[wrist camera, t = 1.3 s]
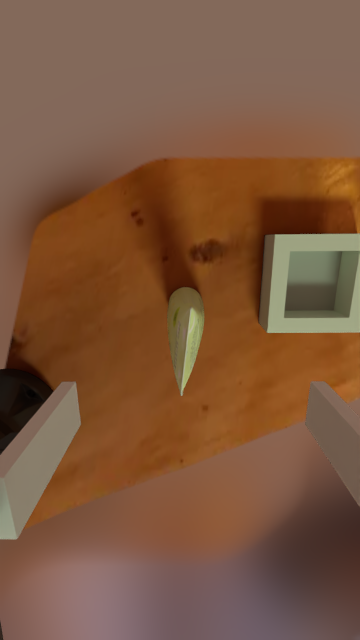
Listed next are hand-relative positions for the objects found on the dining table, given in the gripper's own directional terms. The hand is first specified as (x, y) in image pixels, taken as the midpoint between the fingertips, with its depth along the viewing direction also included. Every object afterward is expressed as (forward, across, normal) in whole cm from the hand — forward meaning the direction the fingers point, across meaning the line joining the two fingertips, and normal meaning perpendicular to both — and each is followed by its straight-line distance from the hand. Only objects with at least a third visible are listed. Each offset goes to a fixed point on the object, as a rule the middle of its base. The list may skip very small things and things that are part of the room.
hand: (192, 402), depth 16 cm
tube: (+26, 0, 0) cm, 27 cm away
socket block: (+26, +17, +3) cm, 31 cm away
